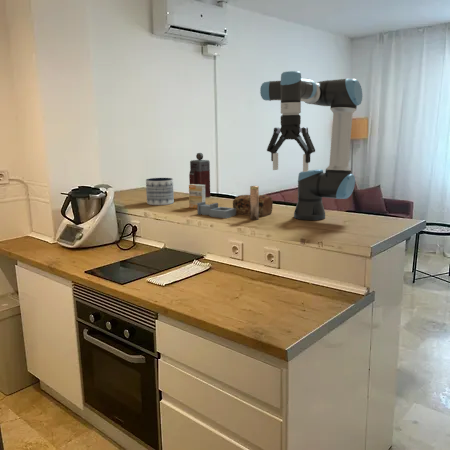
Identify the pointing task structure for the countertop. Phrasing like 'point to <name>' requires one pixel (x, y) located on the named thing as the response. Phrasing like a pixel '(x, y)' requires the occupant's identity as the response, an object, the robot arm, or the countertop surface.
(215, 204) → the grey ring bracket
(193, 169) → the coffee press
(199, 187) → the supplement box
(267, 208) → the bread
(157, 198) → the planter
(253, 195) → the pipe stub
